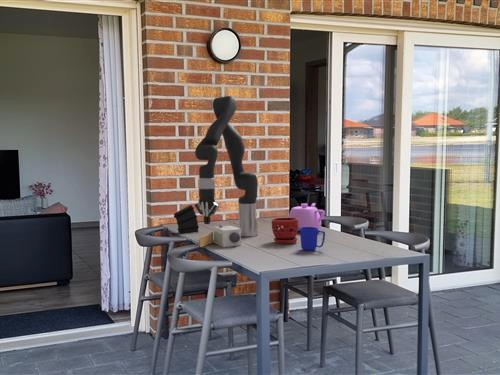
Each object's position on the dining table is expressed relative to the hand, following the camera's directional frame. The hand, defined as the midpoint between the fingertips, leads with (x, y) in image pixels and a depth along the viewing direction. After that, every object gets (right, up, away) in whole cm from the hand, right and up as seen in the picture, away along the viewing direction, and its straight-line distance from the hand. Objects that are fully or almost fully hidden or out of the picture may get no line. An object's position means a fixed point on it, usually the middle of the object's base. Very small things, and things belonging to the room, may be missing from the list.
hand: (206, 223), depth 272 cm
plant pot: (+38, -10, +12) cm, 41 cm away
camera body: (+9, -10, +9) cm, 17 cm away
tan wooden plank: (-1, -11, +7) cm, 13 cm away
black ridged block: (-15, -8, +44) cm, 47 cm away
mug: (+49, -12, -8) cm, 51 cm away
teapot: (+51, -7, +48) cm, 70 cm away
